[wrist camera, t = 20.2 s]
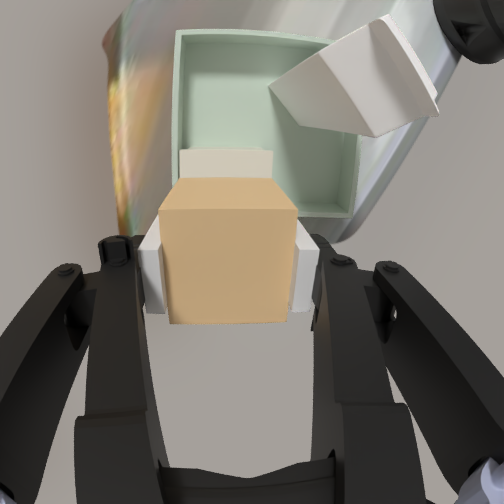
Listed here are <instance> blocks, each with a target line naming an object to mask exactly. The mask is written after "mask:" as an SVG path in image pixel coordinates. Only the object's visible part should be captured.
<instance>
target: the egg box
mask: <svg viewBox="0 0 504 504" xmlns="http://www.w3.org/2000/svg"><path fill="white" fill-rule="evenodd" d="M179 154H180V178H209V177H236V178H272V165H273V151H271V150H263V149H262V148H258V147H190V148H188V149H181V150H179Z"/></svg>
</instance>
